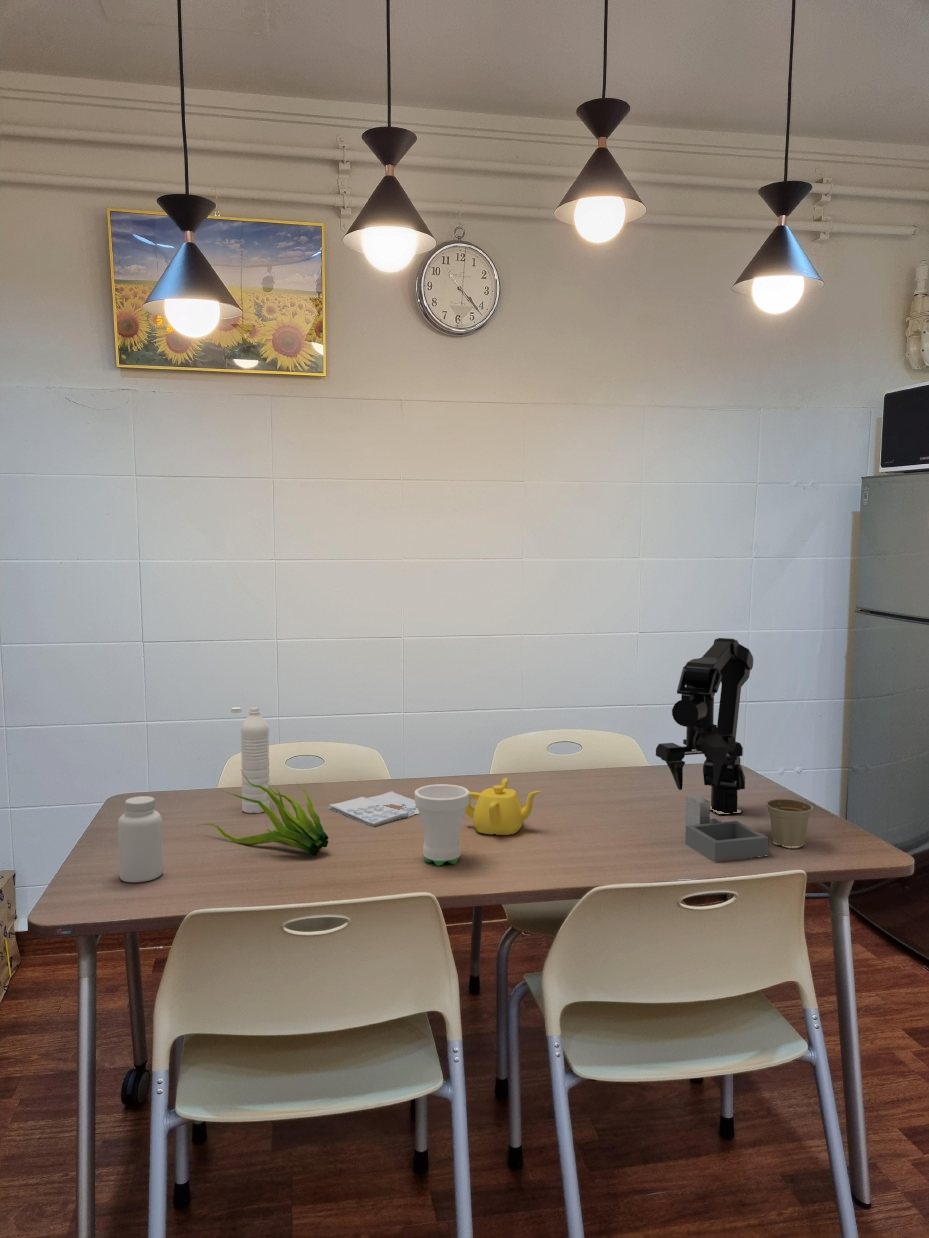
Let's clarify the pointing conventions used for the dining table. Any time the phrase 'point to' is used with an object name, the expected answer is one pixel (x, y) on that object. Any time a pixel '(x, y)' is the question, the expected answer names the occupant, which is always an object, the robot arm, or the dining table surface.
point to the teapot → (499, 810)
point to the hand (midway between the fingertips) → (698, 788)
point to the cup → (442, 820)
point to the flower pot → (789, 821)
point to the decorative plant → (287, 825)
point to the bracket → (698, 811)
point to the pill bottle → (140, 841)
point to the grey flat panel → (377, 808)
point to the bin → (726, 841)
